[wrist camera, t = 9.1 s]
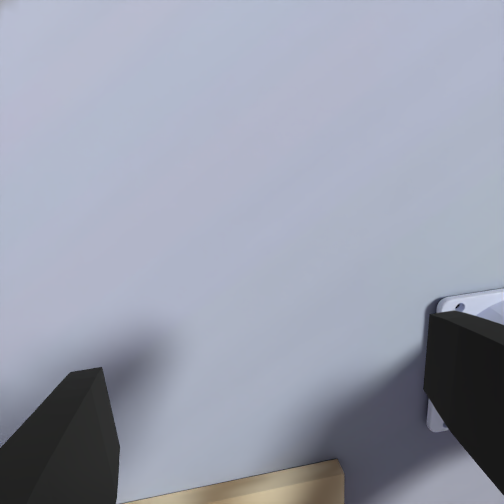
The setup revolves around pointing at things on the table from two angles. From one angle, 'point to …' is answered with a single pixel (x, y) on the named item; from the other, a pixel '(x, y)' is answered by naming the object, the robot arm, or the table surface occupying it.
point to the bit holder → (268, 488)
